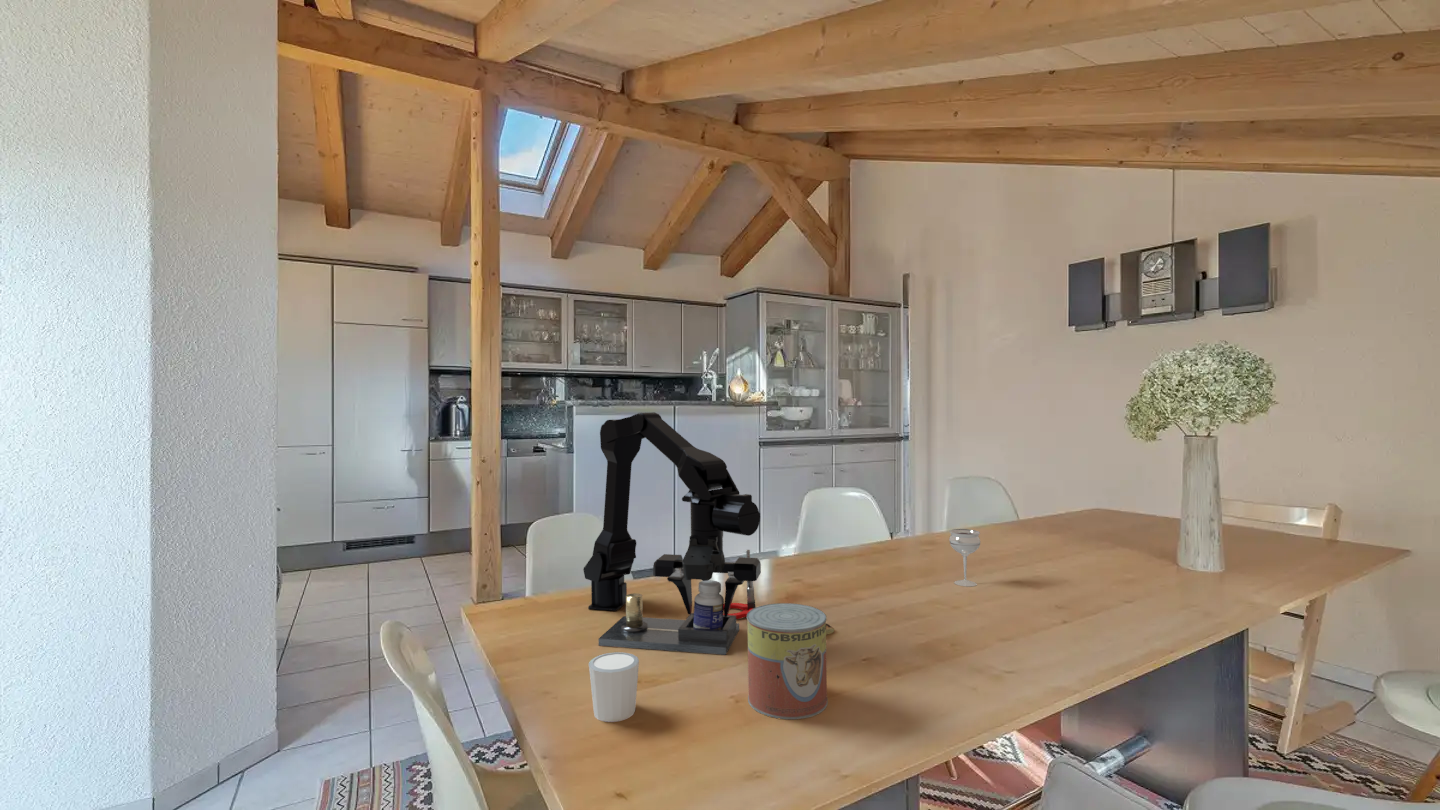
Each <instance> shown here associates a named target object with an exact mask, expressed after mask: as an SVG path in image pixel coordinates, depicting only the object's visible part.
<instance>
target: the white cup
mask: <svg viewBox="0 0 1440 810" xmlns="http://www.w3.org/2000/svg"><path fill="white" fill-rule="evenodd" d="M639 663H640V660H639V657H638V656H636V655H635V654H633V653H629V652H622V651H621V652H620V651H617V652H616V651H615V652H607V653H603V654H600V655H596V656H595V657H594V658H591V660H590V661H589V662H588V669H589V671H588V672H589V678H590V680H589V681H590V689H591V698H592V709H593V714H594V715H593V716H594V718H595V719H597V720H598V721H601V722H606V723H615V722H621V721H624V720H627V719H629V718H630V717H632V716H633V715H634V714H635V711H636V703H637V691H638V680H639V679H638V678H639V665H640V664H639Z"/></svg>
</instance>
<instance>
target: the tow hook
mask: <svg viewBox="0 0 1440 810" xmlns="http://www.w3.org/2000/svg"><path fill="white" fill-rule="evenodd" d="M745 554H746V556H745V558H751V549H746V550H745ZM746 585H747V586H746V598H747V600H746V602H747V603H740V602H732V603H731V606H730V609H732V610H733V609H734V610H735V609H737V610H741V611H739V612H733V613H728V615H733V616H736V620H741V619H743V618H747V614H748V612H749V611H750V610H752V609H754V608H756V607H757V606H756V598H755V587H754V581H746ZM730 609H729V610H730ZM723 611H724V607H723ZM723 615H724V612H723Z"/></svg>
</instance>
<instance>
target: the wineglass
mask: <svg viewBox="0 0 1440 810" xmlns="http://www.w3.org/2000/svg"><path fill="white" fill-rule="evenodd" d="M949 533H950V536H949V538H948V539H949V540H948V541H949V544H950V547H951V548H952V549H953V550H954V551H955V552H957V553H959V554H960V555H961V557H962V558H963V559H962V560H963V561H962V562H963V577H964V579H962V580H961V579H959V580H956V581H953V584H955V585H957V586H961V587H976V586H977V584H978V583H976V582H974V581H971V580H968V579H967V569H968V568H967V565H968V564H967V562H968V561H967V560H968V558H967V557H969V556H970V555H971V554H973V553H975V552H976V551H977V550H978V549H979V548H980V546H981V538H980V534H981V532H980V531H979V530H976V529H968V528H953V529H950V530H949Z"/></svg>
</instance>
